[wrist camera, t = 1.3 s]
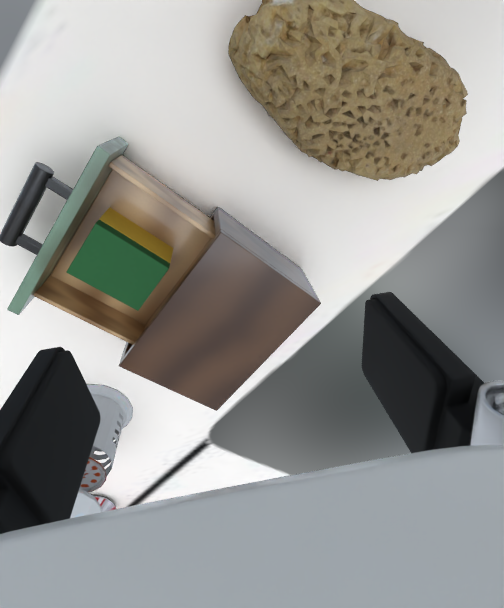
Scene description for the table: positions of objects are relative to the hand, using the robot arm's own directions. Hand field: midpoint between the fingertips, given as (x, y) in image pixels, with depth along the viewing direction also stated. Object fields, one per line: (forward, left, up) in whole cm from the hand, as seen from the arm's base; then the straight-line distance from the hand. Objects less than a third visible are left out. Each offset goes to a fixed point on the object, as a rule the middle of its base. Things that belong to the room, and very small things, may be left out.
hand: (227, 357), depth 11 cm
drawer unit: (+10, +8, -27) cm, 30 cm away
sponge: (-14, +5, -27) cm, 31 cm away
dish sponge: (+10, -3, -26) cm, 28 cm away
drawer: (+10, -5, -27) cm, 29 cm away
